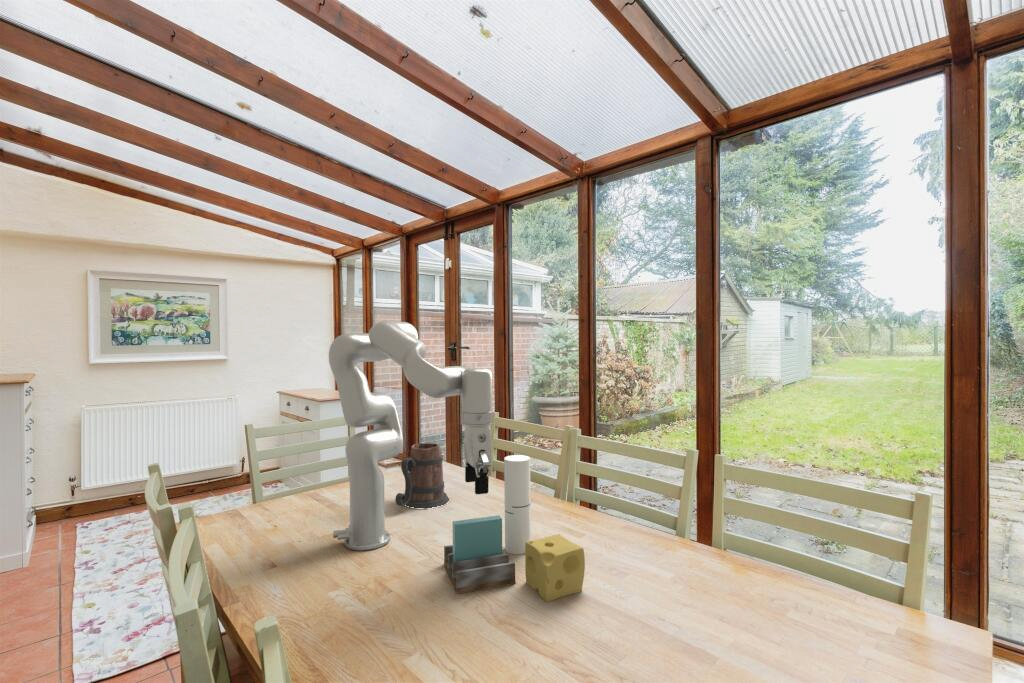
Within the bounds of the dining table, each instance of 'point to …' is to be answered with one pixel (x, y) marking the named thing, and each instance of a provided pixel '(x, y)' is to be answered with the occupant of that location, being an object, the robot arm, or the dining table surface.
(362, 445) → the robot arm
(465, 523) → the teal slab
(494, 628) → the dining table surface
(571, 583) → the cheese
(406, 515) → the dining table surface
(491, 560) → the rack
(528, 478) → the cylindrical container
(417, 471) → the tankard
